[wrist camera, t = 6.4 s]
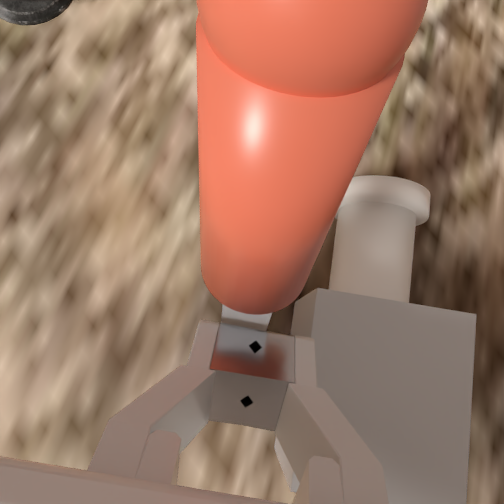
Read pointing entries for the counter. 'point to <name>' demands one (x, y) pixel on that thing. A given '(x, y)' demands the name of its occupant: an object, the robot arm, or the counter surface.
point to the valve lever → (285, 134)
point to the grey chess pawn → (31, 10)
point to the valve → (391, 347)
